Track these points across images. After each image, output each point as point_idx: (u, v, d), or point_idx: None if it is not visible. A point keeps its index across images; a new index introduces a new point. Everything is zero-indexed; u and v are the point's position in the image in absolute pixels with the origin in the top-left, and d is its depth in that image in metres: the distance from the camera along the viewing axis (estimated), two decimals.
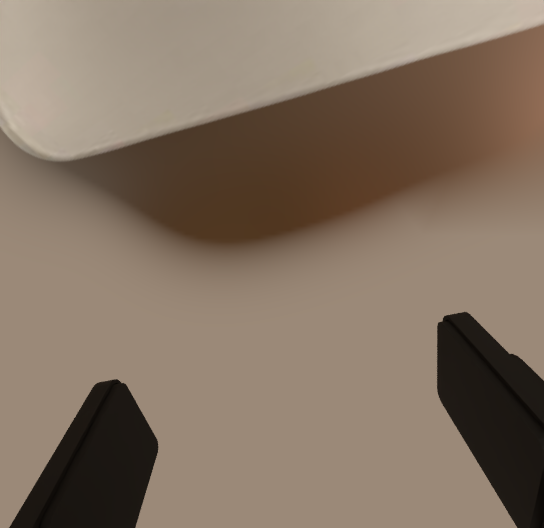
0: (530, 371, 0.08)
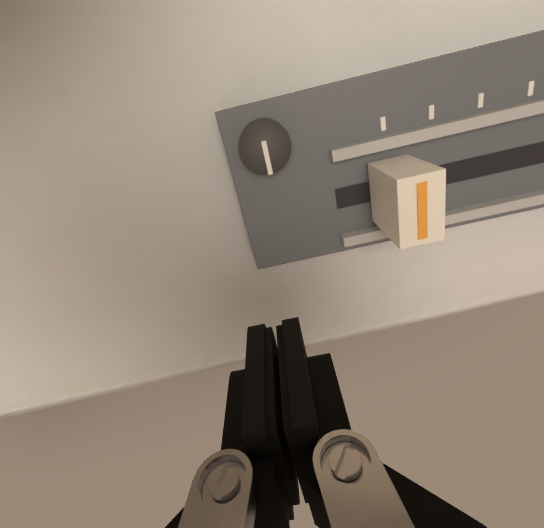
0: None
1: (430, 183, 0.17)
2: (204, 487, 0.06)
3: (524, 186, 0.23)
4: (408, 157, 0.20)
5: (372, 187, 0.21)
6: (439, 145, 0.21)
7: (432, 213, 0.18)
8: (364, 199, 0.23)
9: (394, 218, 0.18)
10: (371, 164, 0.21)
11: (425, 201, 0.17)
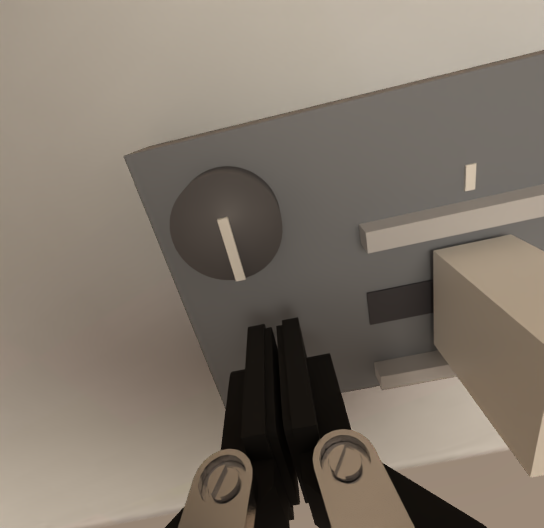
0: None
1: None
2: (204, 487, 0.06)
3: None
4: (525, 248, 0.10)
5: (442, 298, 0.11)
6: None
7: None
8: (419, 309, 0.12)
9: (521, 410, 0.08)
10: (444, 257, 0.10)
11: None
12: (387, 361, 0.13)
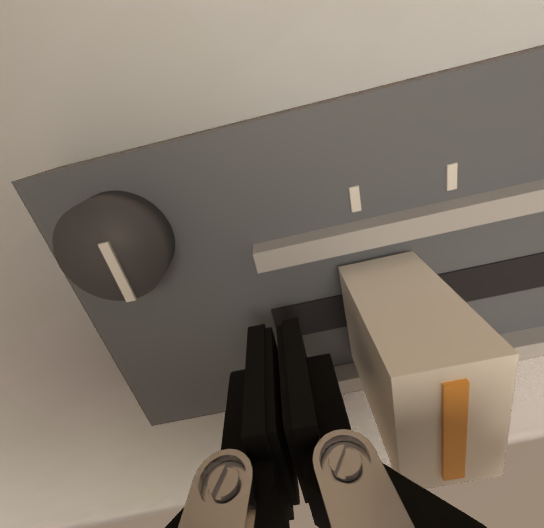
0: (333, 367, 0.09)
1: (476, 382, 0.07)
2: (204, 487, 0.06)
3: None
4: (417, 265, 0.10)
5: (347, 313, 0.11)
6: (466, 235, 0.11)
7: (478, 435, 0.07)
8: (326, 324, 0.12)
9: (388, 427, 0.08)
10: (344, 274, 0.11)
11: (463, 418, 0.07)
12: None
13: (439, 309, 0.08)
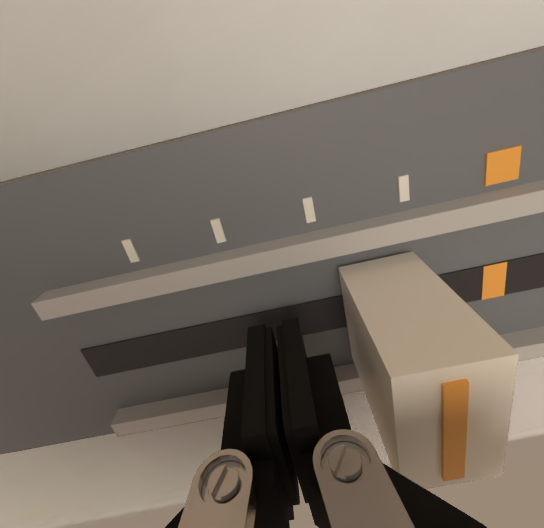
0: None
1: (476, 382, 0.07)
2: (204, 487, 0.06)
3: None
4: (417, 266, 0.10)
5: (348, 313, 0.11)
6: (250, 282, 0.12)
7: (478, 435, 0.07)
8: (139, 362, 0.13)
9: (388, 428, 0.08)
10: (344, 275, 0.11)
11: (463, 418, 0.07)
12: (128, 408, 0.14)
13: (439, 309, 0.08)
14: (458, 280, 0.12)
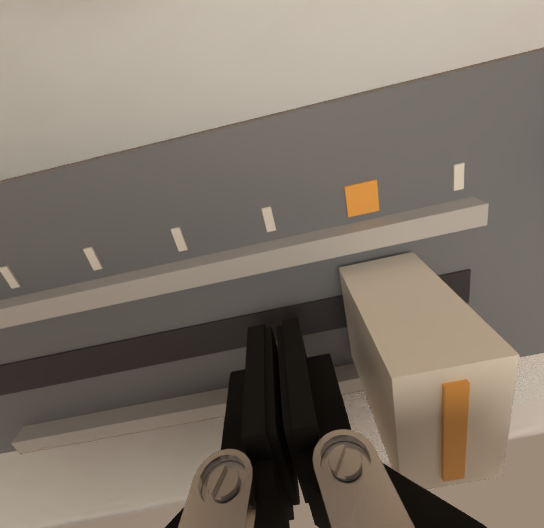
0: (333, 367, 0.09)
1: (476, 383, 0.07)
2: (204, 487, 0.06)
3: None
4: (418, 266, 0.10)
5: (348, 314, 0.11)
6: (134, 307, 0.12)
7: (478, 436, 0.07)
8: (37, 382, 0.13)
9: (388, 428, 0.08)
10: (345, 275, 0.11)
11: (463, 419, 0.07)
12: (33, 426, 0.14)
13: (440, 310, 0.08)
14: (339, 305, 0.12)
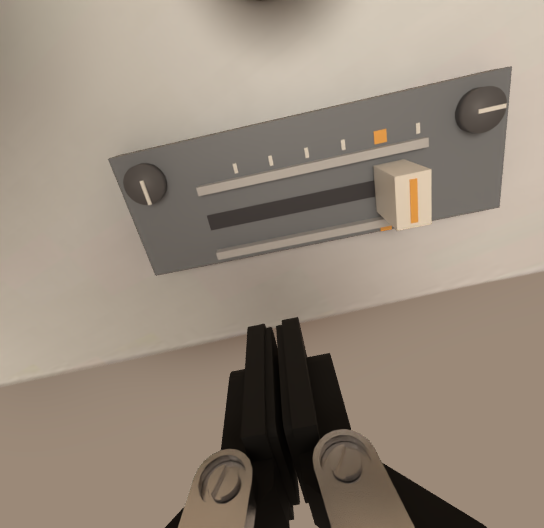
0: (333, 367, 0.09)
1: (419, 179, 0.23)
2: (204, 487, 0.06)
3: (355, 216, 0.29)
4: (405, 161, 0.26)
5: (376, 184, 0.27)
6: (282, 184, 0.28)
7: (421, 203, 0.23)
8: (230, 223, 0.29)
9: (393, 206, 0.24)
10: (376, 166, 0.27)
11: (416, 193, 0.23)
12: (222, 249, 0.30)
13: (411, 167, 0.24)
14: (369, 186, 0.28)
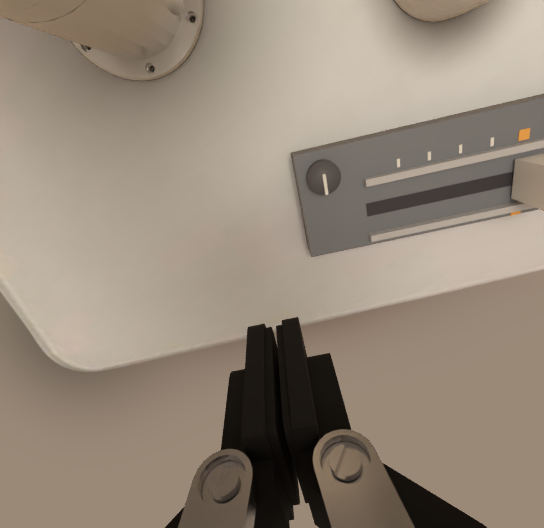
0: (333, 367, 0.09)
1: None
2: (204, 487, 0.06)
3: (491, 202, 0.34)
4: None
5: (518, 175, 0.32)
6: (434, 176, 0.33)
7: None
8: (385, 210, 0.34)
9: None
10: (520, 159, 0.32)
11: None
12: (373, 232, 0.35)
13: None
14: (507, 177, 0.33)
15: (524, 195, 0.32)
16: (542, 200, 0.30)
